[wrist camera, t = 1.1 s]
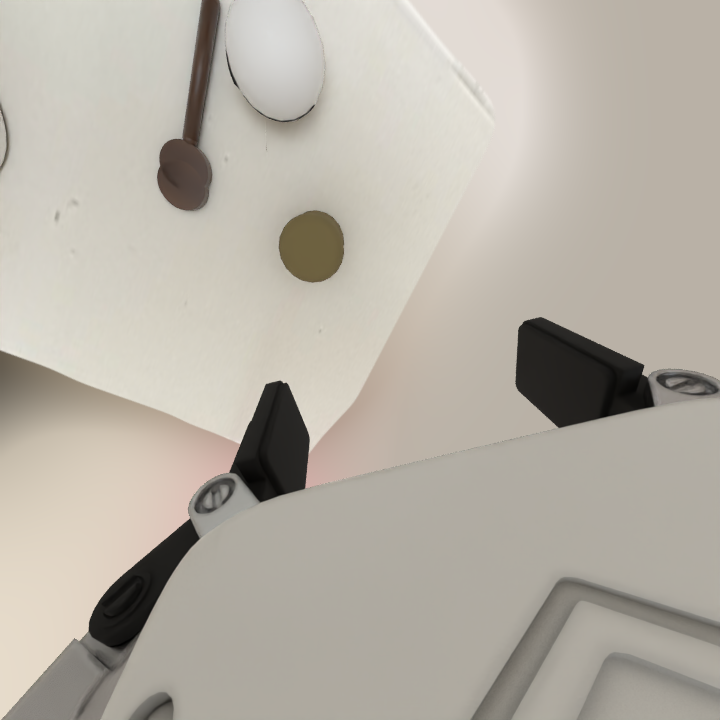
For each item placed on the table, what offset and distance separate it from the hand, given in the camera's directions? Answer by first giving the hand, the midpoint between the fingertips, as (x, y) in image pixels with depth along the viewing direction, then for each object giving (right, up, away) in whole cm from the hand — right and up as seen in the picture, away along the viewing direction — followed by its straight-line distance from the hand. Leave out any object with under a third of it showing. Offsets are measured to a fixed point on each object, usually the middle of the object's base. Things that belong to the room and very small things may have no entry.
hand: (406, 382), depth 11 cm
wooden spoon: (-17, +23, +14) cm, 32 cm away
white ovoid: (-9, +25, +14) cm, 30 cm away
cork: (-7, +14, +20) cm, 25 cm away
